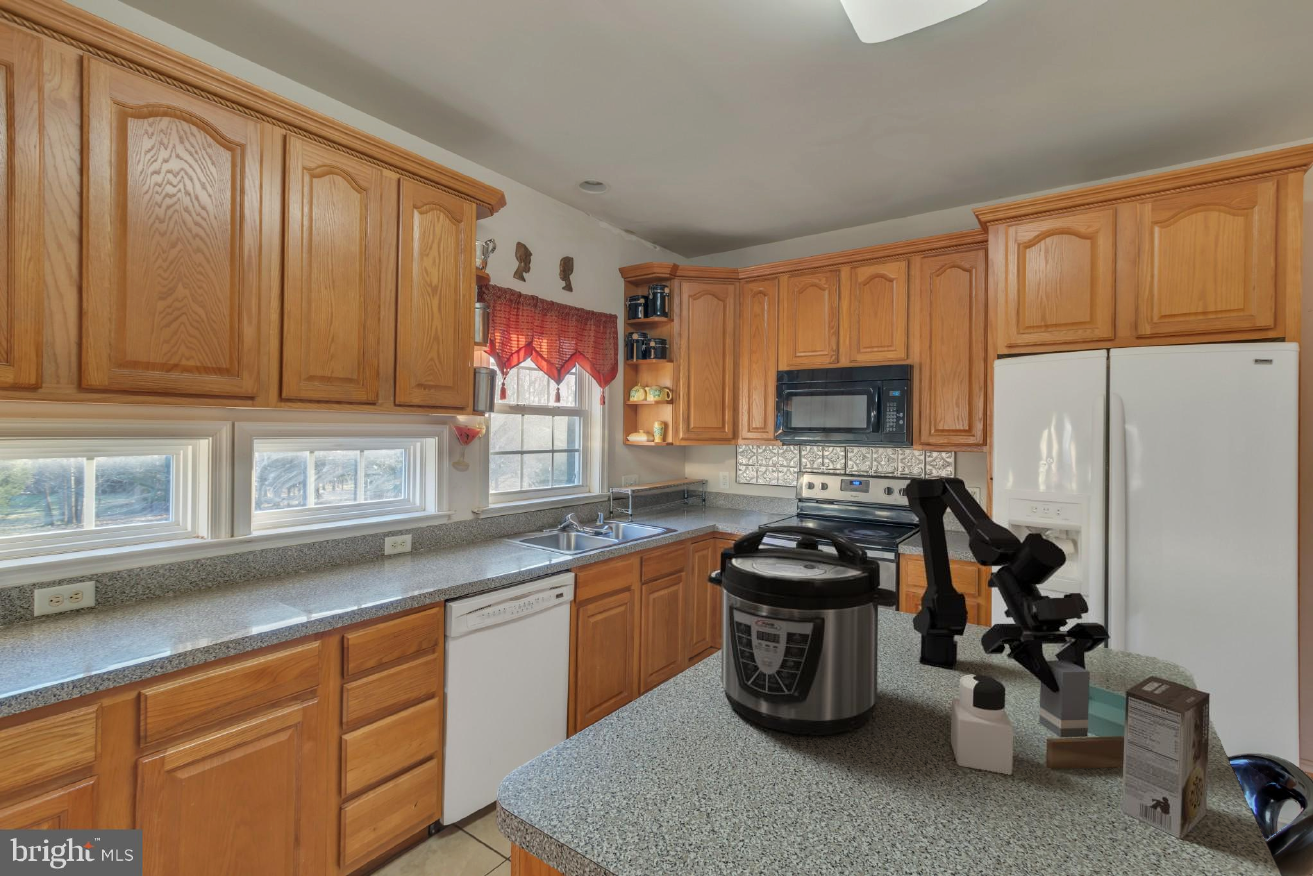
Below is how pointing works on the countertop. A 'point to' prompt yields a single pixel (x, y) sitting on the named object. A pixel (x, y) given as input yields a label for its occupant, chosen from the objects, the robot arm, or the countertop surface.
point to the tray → (1106, 712)
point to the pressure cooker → (800, 631)
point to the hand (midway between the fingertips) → (1071, 691)
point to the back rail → (1085, 752)
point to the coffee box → (1166, 755)
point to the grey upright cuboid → (1066, 700)
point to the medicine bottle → (982, 725)
